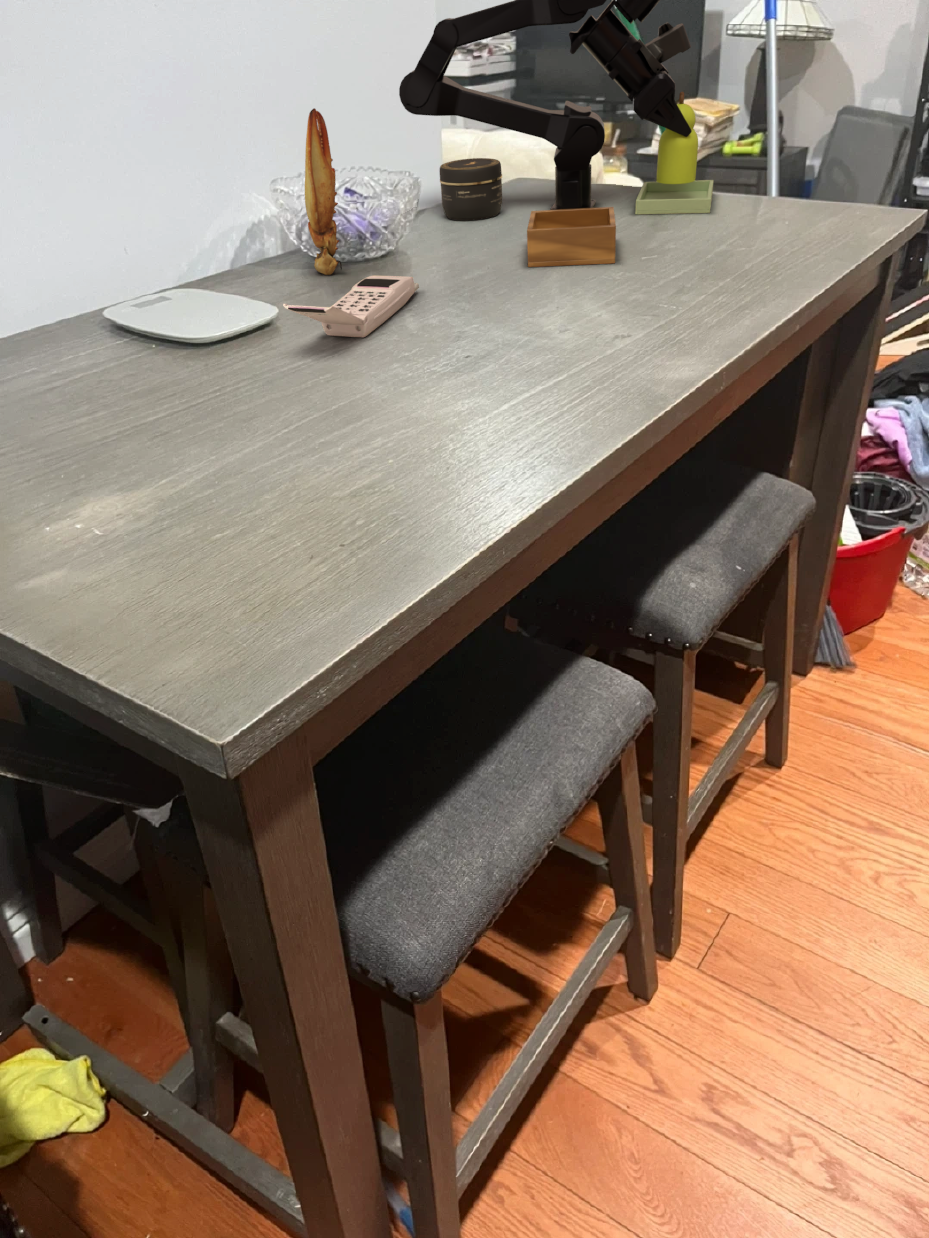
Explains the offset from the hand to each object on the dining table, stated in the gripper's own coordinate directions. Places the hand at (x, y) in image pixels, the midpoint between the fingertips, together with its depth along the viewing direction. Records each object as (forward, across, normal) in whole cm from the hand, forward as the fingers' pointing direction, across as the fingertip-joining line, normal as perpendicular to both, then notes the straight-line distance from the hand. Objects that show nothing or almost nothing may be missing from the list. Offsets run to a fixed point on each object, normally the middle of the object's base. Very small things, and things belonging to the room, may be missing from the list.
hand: (688, 131), depth 138 cm
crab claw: (-28, -34, +43) cm, 61 cm away
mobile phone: (-21, -56, +36) cm, 69 cm away
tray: (+6, 0, +8) cm, 10 cm away
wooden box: (-5, -28, +19) cm, 35 cm away
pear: (+4, 0, +6) cm, 7 cm away
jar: (-16, -1, +31) cm, 35 cm away
